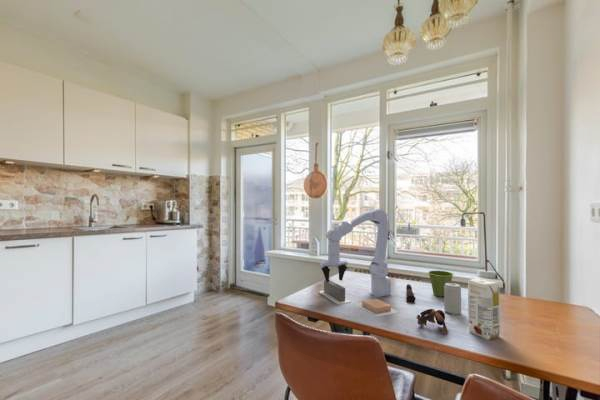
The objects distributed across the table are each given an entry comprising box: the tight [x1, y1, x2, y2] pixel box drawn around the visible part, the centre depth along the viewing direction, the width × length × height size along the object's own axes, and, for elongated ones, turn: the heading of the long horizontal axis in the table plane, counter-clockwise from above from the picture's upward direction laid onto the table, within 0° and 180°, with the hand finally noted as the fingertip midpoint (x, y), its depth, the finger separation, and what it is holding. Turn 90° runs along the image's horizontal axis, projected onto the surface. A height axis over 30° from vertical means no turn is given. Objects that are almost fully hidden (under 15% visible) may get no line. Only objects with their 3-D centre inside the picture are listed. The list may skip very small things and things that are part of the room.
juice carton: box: [467, 277, 501, 341], centre depth 100 cm, size 8×9×19 cm
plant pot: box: [427, 270, 454, 298], centre depth 144 cm, size 12×12×11 cm
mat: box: [355, 302, 399, 317], centre depth 125 cm, size 12×16×1 cm
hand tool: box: [405, 284, 416, 304], centre depth 140 cm, size 19×4×5 cm, turn 159°
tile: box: [361, 298, 392, 313], centre depth 124 cm, size 8×2×10 cm
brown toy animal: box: [416, 308, 448, 336], centre depth 105 cm, size 12×10×8 cm
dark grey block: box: [323, 279, 346, 302], centre depth 139 cm, size 3×16×6 cm, turn 23°
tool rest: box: [318, 290, 352, 305], centre depth 139 cm, size 7×20×1 cm, turn 23°
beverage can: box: [443, 282, 462, 315], centre depth 121 cm, size 6×6×12 cm
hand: (334, 280), depth 139 cm, fingers open, 7 cm apart
